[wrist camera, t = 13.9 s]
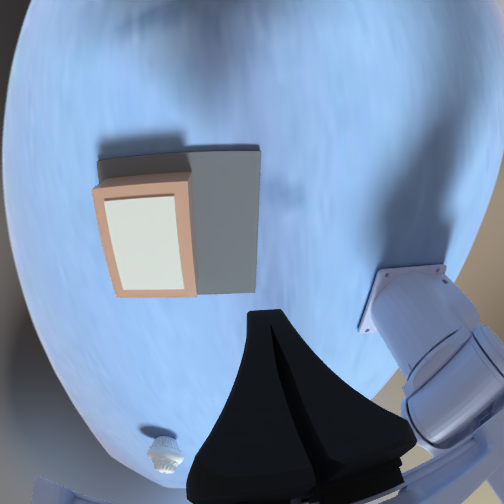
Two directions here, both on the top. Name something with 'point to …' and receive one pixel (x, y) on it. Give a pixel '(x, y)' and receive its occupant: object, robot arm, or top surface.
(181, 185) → the block
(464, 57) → the top surface
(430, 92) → the top surface
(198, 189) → the mat
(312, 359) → the robot arm
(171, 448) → the muffin
